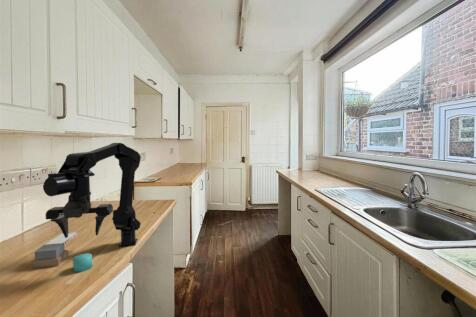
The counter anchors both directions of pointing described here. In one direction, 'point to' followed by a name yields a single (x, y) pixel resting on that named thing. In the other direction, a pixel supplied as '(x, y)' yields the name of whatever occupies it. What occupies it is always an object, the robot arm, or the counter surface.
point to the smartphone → (62, 238)
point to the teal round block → (82, 262)
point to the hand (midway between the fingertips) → (81, 236)
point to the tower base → (50, 261)
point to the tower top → (49, 251)
